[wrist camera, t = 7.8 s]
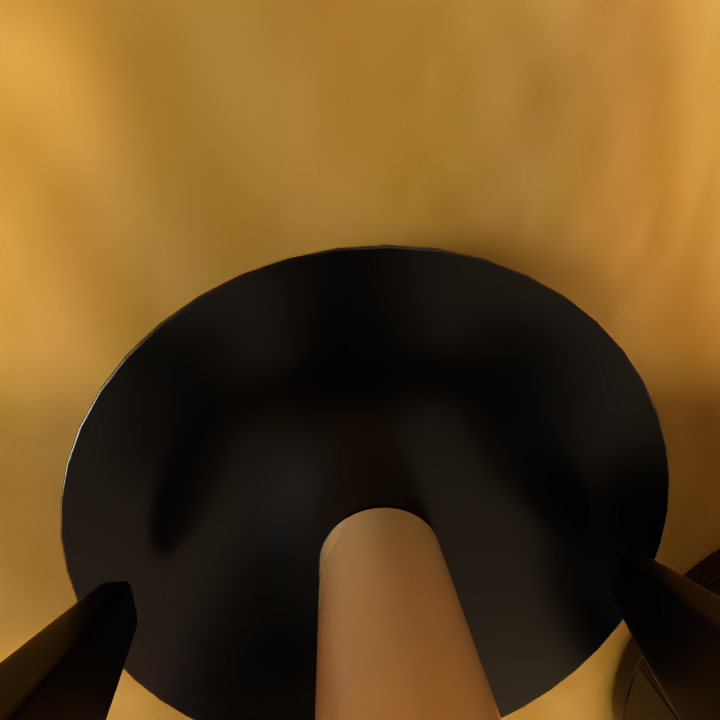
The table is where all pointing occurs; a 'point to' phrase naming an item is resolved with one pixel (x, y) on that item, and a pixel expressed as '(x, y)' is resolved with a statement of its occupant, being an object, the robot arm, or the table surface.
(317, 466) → the tin lid
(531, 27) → the table surface
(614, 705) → the tin
